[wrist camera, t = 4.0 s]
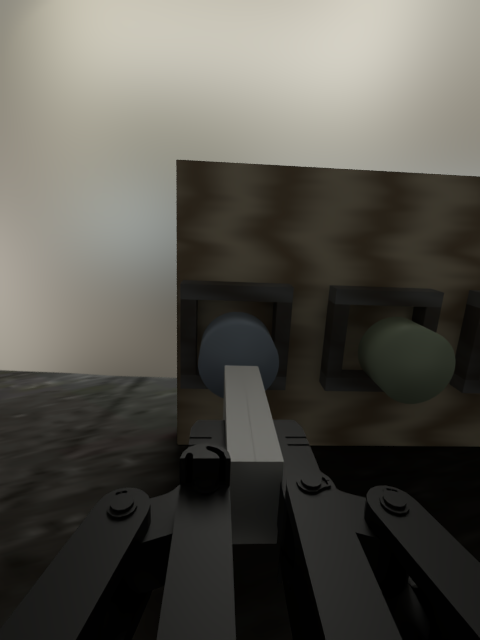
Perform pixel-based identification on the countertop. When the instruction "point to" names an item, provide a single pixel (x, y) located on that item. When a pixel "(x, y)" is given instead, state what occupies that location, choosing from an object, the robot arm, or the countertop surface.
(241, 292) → the button panel
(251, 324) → the slate blue button
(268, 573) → the countertop surface
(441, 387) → the sage button
